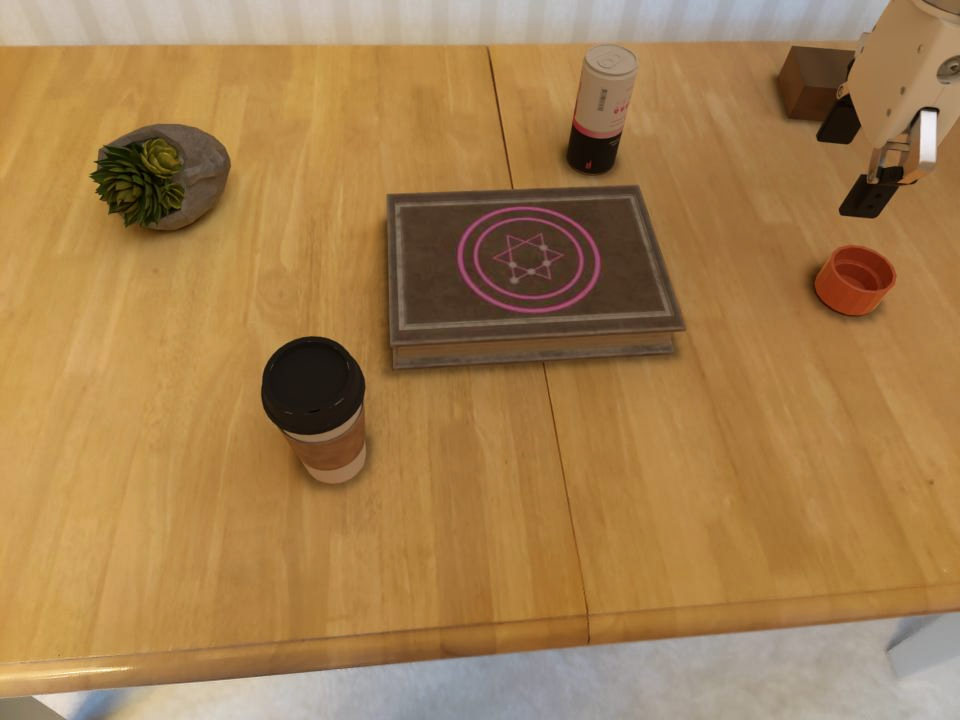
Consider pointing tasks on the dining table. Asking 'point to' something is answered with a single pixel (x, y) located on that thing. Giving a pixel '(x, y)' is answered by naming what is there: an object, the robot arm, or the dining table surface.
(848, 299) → the bowl
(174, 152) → the potted plant
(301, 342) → the coffee cup
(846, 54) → the stand
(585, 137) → the beverage can
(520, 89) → the dining table surface
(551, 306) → the book
